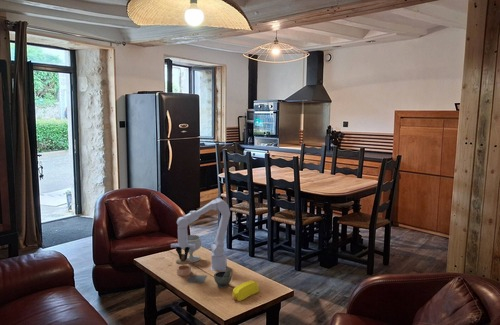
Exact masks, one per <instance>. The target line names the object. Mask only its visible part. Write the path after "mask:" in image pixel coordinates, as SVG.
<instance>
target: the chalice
mask: <svg viewBox="0 0 500 325" xmlns="http://www.w3.org/2000/svg"><path fill="white" fill-rule="evenodd" d="M188 243H190V244H195V248H190V249H189V252H188V255H187V258H189V259H190V260H191V262H190V263H189V264H191V263H197V262H199V261H201V256H198V255H194V252H196V251H198V250H199V249H200V248H201V247H202V240H201V238H200V236H199V235H194V234H188ZM184 249H185V248H182V251H184Z"/></svg>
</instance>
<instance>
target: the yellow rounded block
mask: <svg viewBox="0 0 500 325" xmlns="http://www.w3.org/2000/svg"><path fill="white" fill-rule="evenodd" d="M259 292H260V288H259V284H258V282H257V281H254V280H252V279H251V280H248V281H245V282H243V283H241V284H239V285H237V286H235V287H234V288H233V290H232V299H233V301H238V302H242V301H243V300H245V299H247V298H249V297H251V296H253V295H256V294H258V293H259Z"/></svg>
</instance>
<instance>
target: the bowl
mask: <svg viewBox="0 0 500 325" xmlns="http://www.w3.org/2000/svg"><path fill="white" fill-rule="evenodd" d="M175 270H176V275H177V276H180V277H185V276H189V275H191V273H192V266H191V265H190V264H185V265H179V264H178V266H176V268H175Z"/></svg>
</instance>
